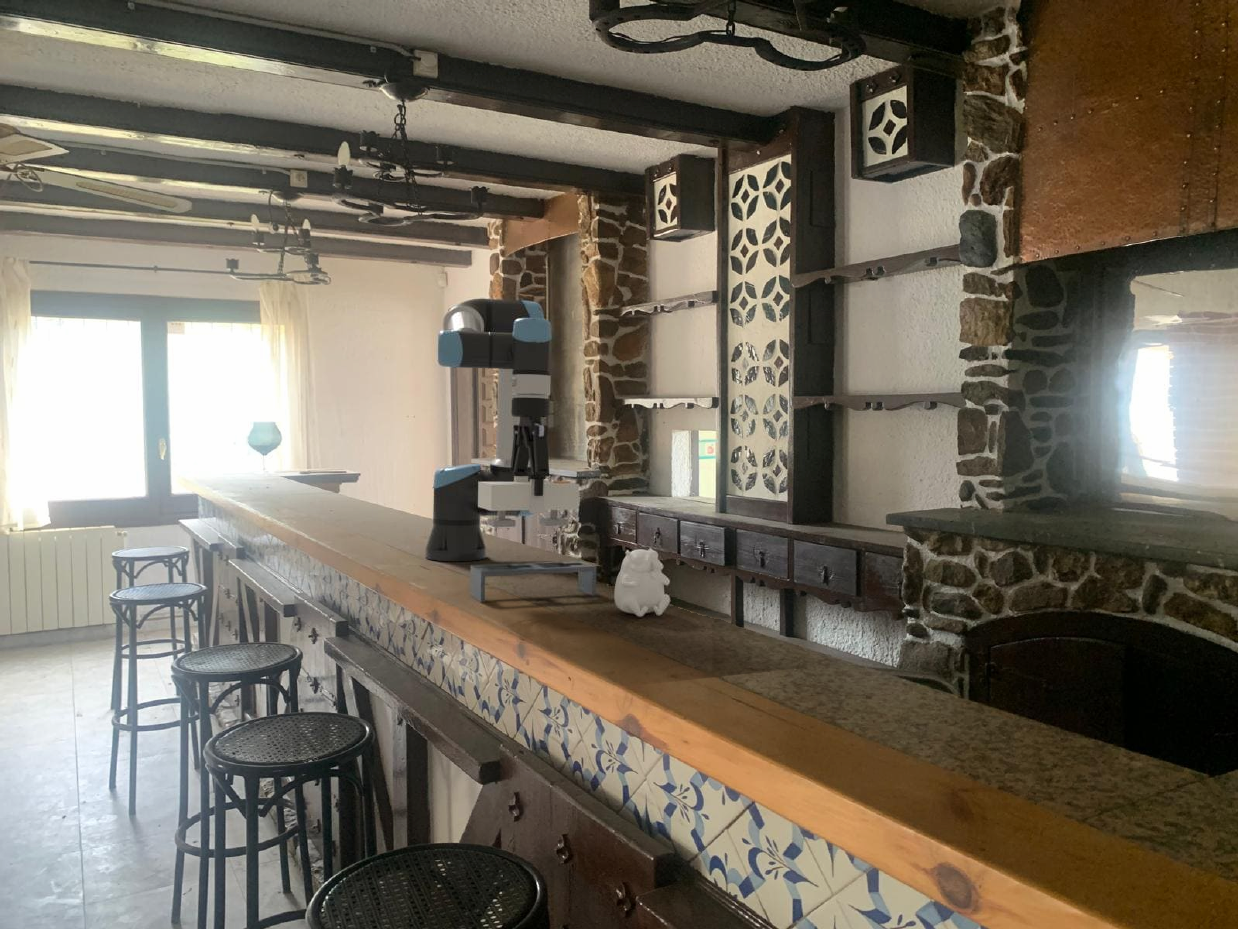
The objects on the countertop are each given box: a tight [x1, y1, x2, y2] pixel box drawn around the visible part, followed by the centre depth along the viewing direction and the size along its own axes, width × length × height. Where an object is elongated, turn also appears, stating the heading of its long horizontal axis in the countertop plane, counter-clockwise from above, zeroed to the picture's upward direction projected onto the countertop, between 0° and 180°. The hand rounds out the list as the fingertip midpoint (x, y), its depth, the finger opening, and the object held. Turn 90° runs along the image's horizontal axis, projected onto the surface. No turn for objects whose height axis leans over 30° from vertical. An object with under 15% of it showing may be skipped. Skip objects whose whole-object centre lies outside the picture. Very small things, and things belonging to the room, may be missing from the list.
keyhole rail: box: [469, 560, 597, 603], centre depth 186 cm, size 8×24×6 cm, turn 115°
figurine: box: [613, 547, 671, 618], centre depth 171 cm, size 10×10×12 cm
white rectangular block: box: [478, 480, 580, 528], centre depth 184 cm, size 9×18×9 cm, turn 115°
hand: (528, 510), depth 184 cm, fingers closed on white rectangular block, 9 cm apart
